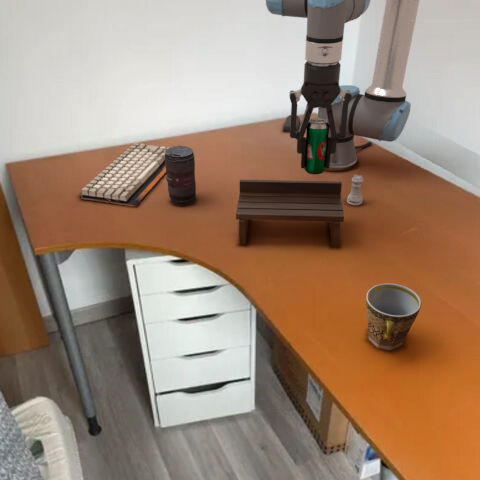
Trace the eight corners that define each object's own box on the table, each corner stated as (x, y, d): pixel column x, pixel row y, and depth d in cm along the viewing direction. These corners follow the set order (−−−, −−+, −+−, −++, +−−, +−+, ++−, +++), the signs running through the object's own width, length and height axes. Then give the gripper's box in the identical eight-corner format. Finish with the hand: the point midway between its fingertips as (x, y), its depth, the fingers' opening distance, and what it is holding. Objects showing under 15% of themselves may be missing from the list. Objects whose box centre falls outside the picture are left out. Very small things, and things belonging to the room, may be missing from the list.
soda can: (302, 167, 127) (305, 117, 119) (322, 165, 127) (326, 116, 119) (306, 176, 123) (309, 125, 115) (327, 174, 123) (332, 124, 115)
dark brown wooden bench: (240, 217, 143) (240, 178, 136) (337, 219, 141) (341, 180, 134) (236, 245, 132) (235, 204, 125) (340, 248, 130) (345, 206, 123)
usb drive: (283, 131, 191) (283, 124, 190) (287, 120, 201) (287, 113, 199) (297, 132, 191) (297, 125, 189) (300, 121, 200) (301, 113, 198)
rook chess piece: (364, 200, 149) (367, 174, 144) (360, 207, 146) (363, 181, 141) (348, 197, 151) (352, 171, 146) (344, 204, 147) (347, 178, 143)
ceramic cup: (362, 318, 109) (369, 279, 103) (412, 327, 106) (422, 287, 100) (355, 361, 99) (361, 321, 93) (409, 372, 97) (420, 331, 91)
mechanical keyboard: (136, 207, 148) (134, 196, 146) (76, 200, 153) (74, 189, 151) (183, 155, 177) (182, 145, 175) (132, 150, 181) (130, 140, 179)
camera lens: (193, 208, 147) (189, 157, 138) (165, 205, 149) (159, 155, 139) (200, 195, 153) (197, 145, 144) (174, 192, 155) (169, 144, 146)
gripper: (279, 66, 107) (276, 172, 122) (369, 66, 106) (355, 173, 121) (279, 57, 113) (276, 159, 127) (364, 56, 112) (351, 159, 126)
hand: (314, 165), depth 124 cm, fingers closed on soda can, 5 cm apart
